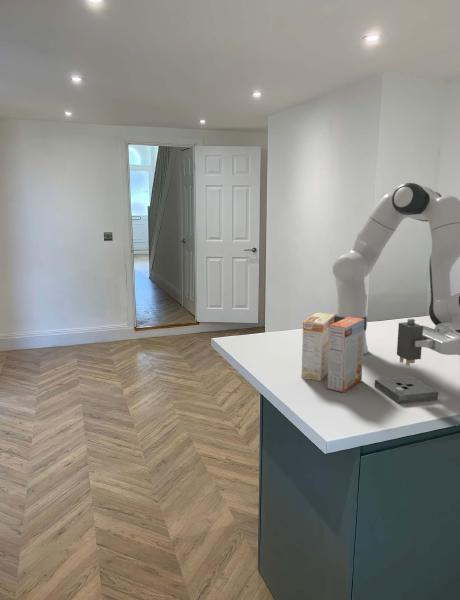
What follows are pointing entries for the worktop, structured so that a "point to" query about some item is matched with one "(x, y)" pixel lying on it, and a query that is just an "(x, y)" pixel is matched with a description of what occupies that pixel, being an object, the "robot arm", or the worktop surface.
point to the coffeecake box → (316, 346)
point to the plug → (409, 341)
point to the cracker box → (345, 353)
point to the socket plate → (406, 390)
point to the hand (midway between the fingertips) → (406, 340)
